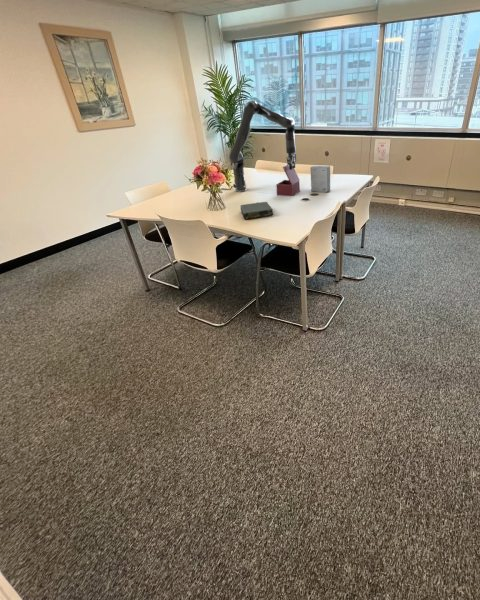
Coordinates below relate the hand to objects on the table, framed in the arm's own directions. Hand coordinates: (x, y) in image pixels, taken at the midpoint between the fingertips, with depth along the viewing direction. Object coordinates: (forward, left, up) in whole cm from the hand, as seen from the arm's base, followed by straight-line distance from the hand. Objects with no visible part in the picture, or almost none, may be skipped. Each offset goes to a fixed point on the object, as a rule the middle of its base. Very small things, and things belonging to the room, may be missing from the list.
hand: (292, 168), depth 262 cm
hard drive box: (+14, +19, -20) cm, 31 cm away
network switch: (+14, -54, -20) cm, 59 cm away
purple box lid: (-2, -1, -4) cm, 5 cm away
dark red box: (-5, -2, -20) cm, 21 cm away
